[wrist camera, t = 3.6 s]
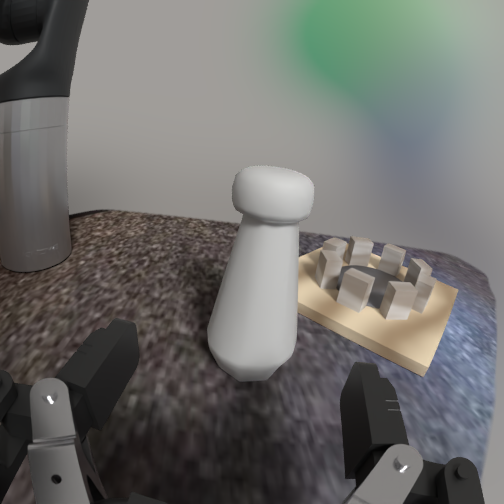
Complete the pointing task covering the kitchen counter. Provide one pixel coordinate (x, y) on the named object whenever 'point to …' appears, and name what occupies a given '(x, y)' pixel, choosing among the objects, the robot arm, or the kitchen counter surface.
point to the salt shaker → (261, 274)
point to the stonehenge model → (376, 300)
